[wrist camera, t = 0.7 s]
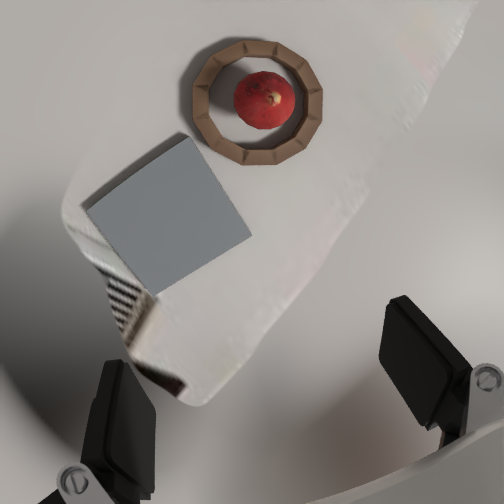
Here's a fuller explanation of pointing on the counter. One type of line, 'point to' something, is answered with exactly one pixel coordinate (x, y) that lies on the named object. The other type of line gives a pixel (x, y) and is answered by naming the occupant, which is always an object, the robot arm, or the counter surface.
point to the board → (169, 218)
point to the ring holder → (286, 59)
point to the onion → (264, 100)
